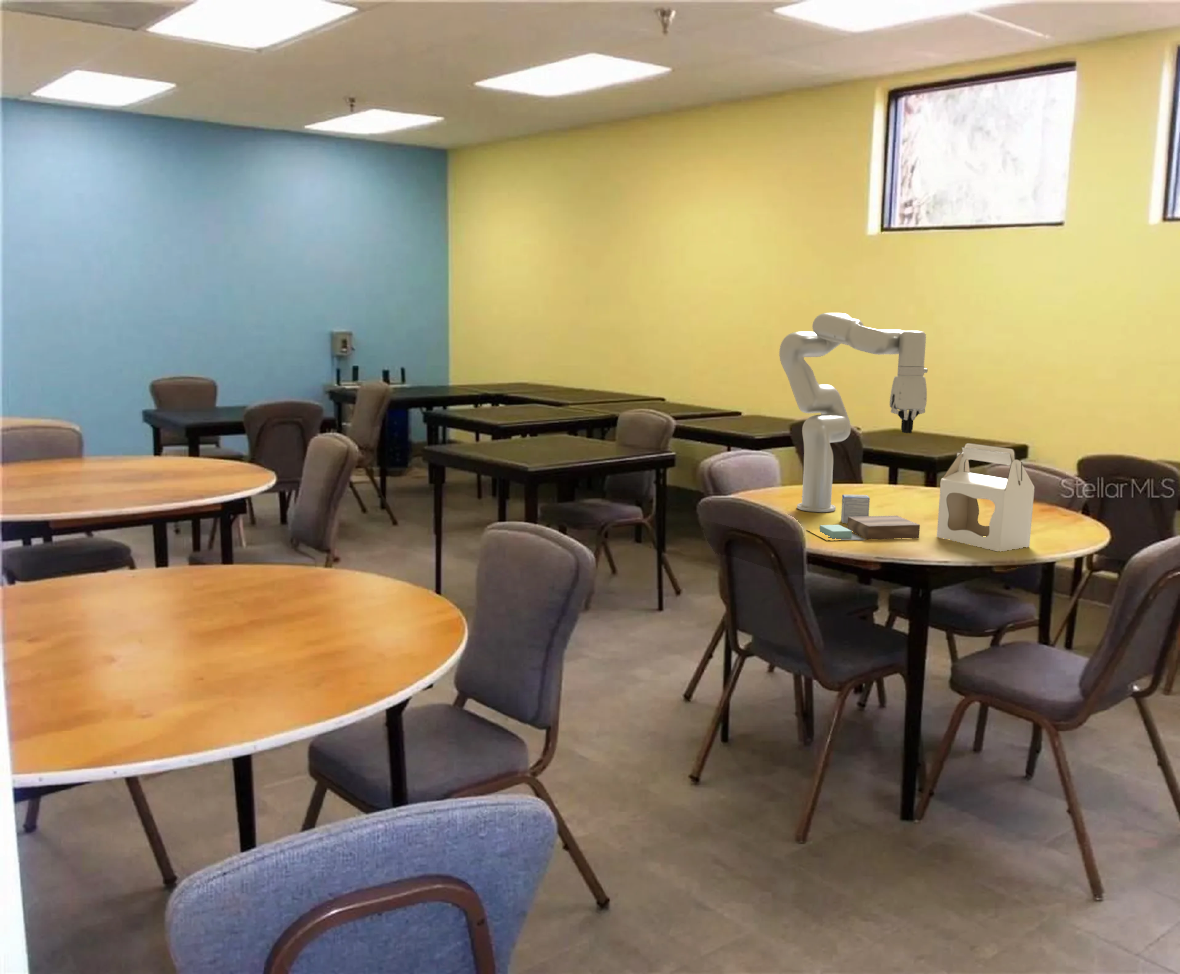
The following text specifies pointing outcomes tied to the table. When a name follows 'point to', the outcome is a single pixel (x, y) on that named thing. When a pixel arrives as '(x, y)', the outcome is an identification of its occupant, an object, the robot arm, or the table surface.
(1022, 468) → the gable box
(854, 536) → the mat
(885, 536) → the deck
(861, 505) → the medicine box
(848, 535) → the block
